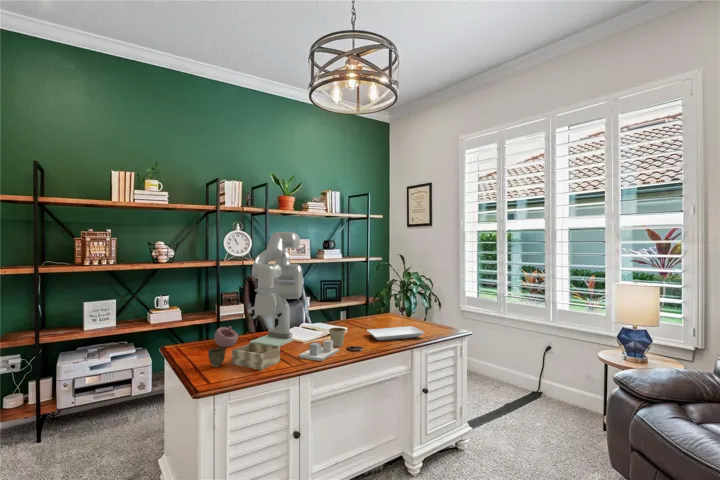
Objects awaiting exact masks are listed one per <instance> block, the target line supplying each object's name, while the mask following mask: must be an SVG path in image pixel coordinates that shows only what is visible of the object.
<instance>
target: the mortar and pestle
mask: <svg viewBox="0 0 720 480" xmlns="http://www.w3.org/2000/svg"><path fill="white" fill-rule="evenodd" d="M232 328H233V327H232V326H230V325H229V326H228V327H227V326H220V327H219V328H217V329H216V330H215V333H214V342H215V344H217V346H218V347H220V348H222V347H223V348H231V347H233V346H234V345H235V344H236V343H237V342H238V339H239V334H238V332H237V331H235V330H234V329H232Z"/></svg>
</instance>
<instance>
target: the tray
mask: <svg viewBox="0 0 720 480" xmlns="http://www.w3.org/2000/svg"><path fill="white" fill-rule="evenodd" d="M365 331H366V332H367V333H368V334H370V335H371V336H372V337H373V338H374V339H376V340H377V341H388V340H401V339H413V338H414V337H415V338H418V337H420V336H422V335H425V332H424V331H422V330H421V329H419V328H417V327H415V326H411V325H410V326H396V327H384V328H371V329H366V330H365Z"/></svg>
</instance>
